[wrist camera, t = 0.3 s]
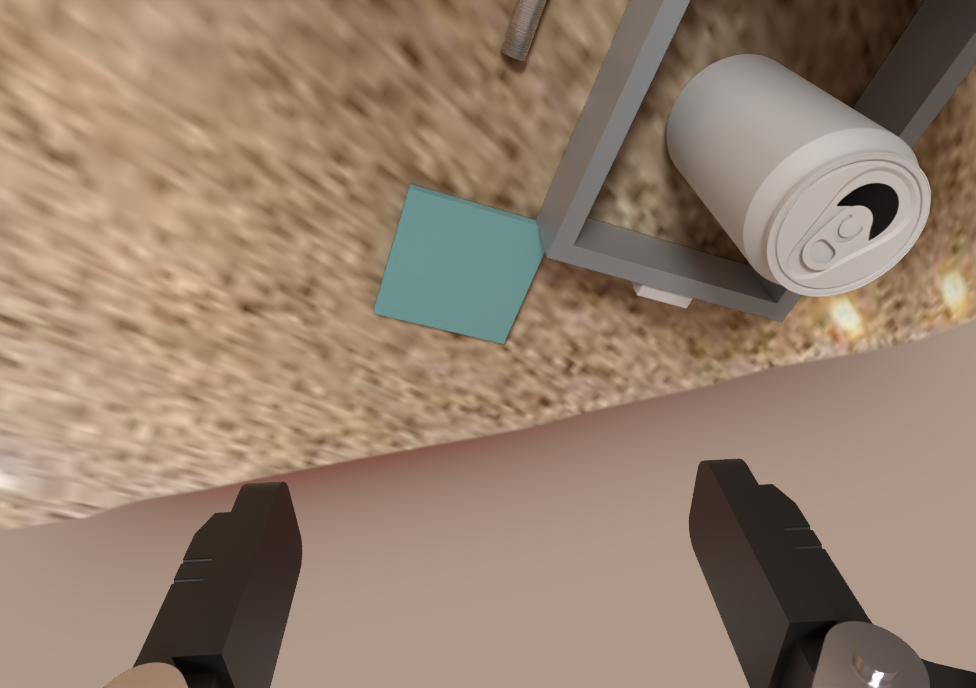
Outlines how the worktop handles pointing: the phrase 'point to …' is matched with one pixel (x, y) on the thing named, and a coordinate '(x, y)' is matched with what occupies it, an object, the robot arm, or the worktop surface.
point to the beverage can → (797, 176)
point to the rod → (522, 28)
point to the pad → (459, 265)
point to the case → (616, 99)
